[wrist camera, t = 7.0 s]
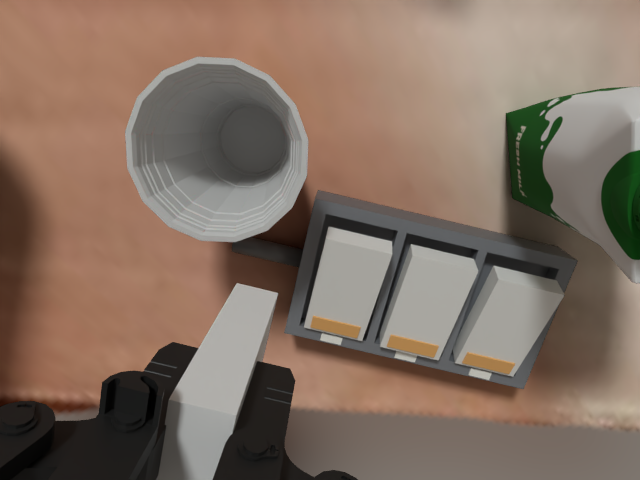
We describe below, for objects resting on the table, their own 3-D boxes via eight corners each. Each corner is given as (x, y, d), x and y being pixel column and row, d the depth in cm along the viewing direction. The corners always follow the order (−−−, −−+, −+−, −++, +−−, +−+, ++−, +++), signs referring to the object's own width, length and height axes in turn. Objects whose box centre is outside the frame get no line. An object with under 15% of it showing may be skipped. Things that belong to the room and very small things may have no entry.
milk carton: (492, 103, 36) (651, 108, 17) (613, 80, 35) (926, 58, 16) (501, 211, 39) (649, 319, 20) (615, 192, 38) (888, 287, 19)
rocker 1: (306, 313, 40) (303, 328, 38) (328, 226, 35) (325, 239, 34) (363, 326, 40) (362, 342, 38) (392, 241, 35) (392, 255, 34)
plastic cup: (345, 161, 38) (343, 187, 27) (238, 224, 40) (194, 274, 29) (274, 40, 36) (239, 13, 24) (165, 115, 38) (86, 121, 27)
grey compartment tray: (226, 299, 43) (215, 317, 39) (249, 173, 39) (239, 180, 36) (509, 366, 43) (523, 389, 39) (558, 247, 39) (578, 261, 36)
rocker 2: (379, 332, 40) (379, 347, 38) (410, 244, 36) (412, 256, 34) (436, 345, 40) (438, 361, 38) (473, 259, 36) (478, 272, 34)
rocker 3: (452, 347, 40) (455, 364, 38) (493, 265, 35) (498, 280, 34) (508, 360, 40) (513, 378, 39) (557, 280, 35) (565, 296, 34)
